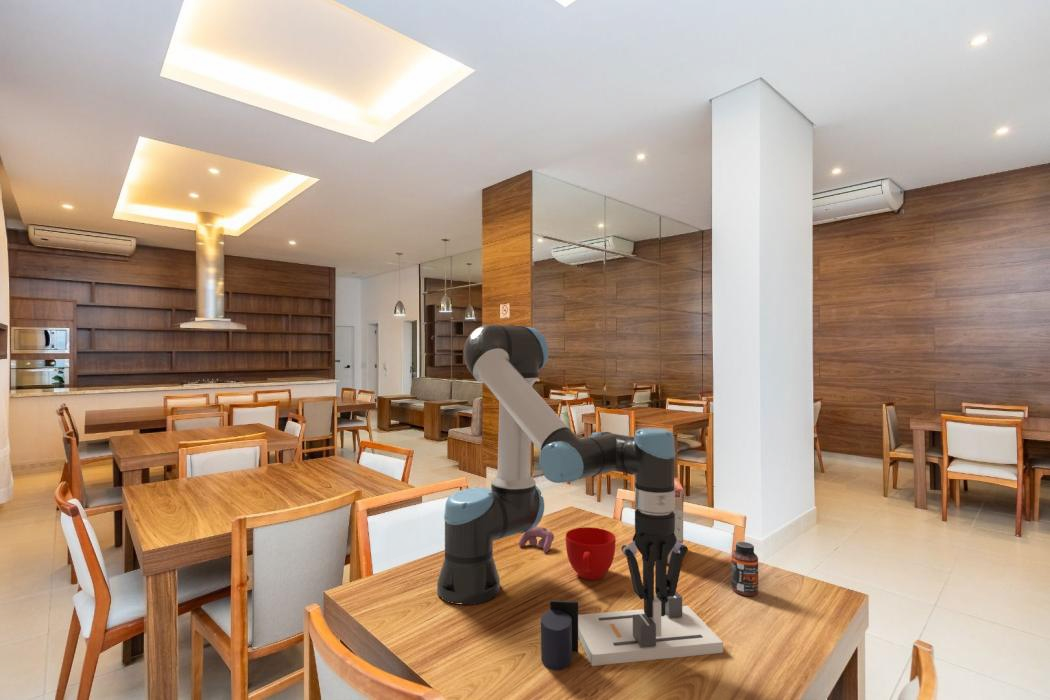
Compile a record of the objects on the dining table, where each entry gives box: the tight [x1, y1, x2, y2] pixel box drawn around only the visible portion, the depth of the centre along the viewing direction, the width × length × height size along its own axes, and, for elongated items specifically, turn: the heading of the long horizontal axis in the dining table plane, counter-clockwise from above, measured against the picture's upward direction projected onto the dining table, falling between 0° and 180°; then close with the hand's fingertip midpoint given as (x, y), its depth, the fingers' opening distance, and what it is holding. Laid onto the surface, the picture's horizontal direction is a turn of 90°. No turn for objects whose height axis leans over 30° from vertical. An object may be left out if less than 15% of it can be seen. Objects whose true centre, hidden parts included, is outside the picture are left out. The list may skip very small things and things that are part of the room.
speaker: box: [540, 599, 579, 671], centre depth 91 cm, size 8×6×10 cm
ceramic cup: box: [565, 526, 617, 581], centre depth 126 cm, size 13×17×10 cm
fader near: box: [633, 614, 656, 647], centre depth 94 cm, size 3×4×4 cm
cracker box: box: [667, 477, 685, 566], centre depth 140 cm, size 14×6×21 cm, turn 168°
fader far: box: [665, 591, 683, 618], centre depth 104 cm, size 3×4×4 cm
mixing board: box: [578, 605, 724, 667], centre depth 98 cm, size 26×14×2 cm, turn 99°
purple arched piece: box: [518, 525, 555, 554], centre depth 146 cm, size 10×5×7 cm, turn 59°
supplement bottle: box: [730, 541, 759, 597], centre depth 118 cm, size 6×6×11 cm
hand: (654, 632), depth 94 cm, fingers closed
